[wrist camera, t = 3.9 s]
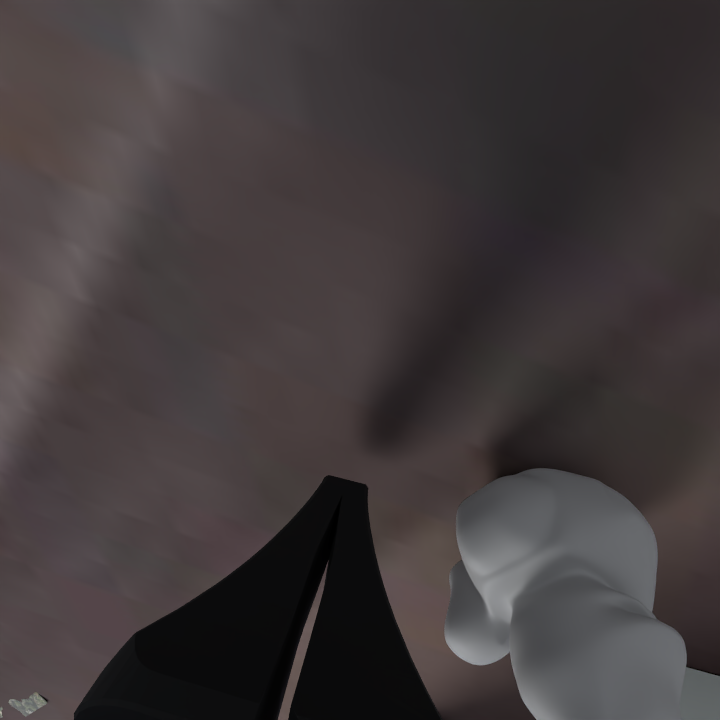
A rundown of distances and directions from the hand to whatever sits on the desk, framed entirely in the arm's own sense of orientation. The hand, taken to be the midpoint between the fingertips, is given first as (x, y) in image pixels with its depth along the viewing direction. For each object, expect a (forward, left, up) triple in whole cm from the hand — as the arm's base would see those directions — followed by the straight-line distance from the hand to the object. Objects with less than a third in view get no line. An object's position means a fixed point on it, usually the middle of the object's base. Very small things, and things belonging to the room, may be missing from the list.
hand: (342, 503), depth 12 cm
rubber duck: (0, -6, -2) cm, 6 cm away
